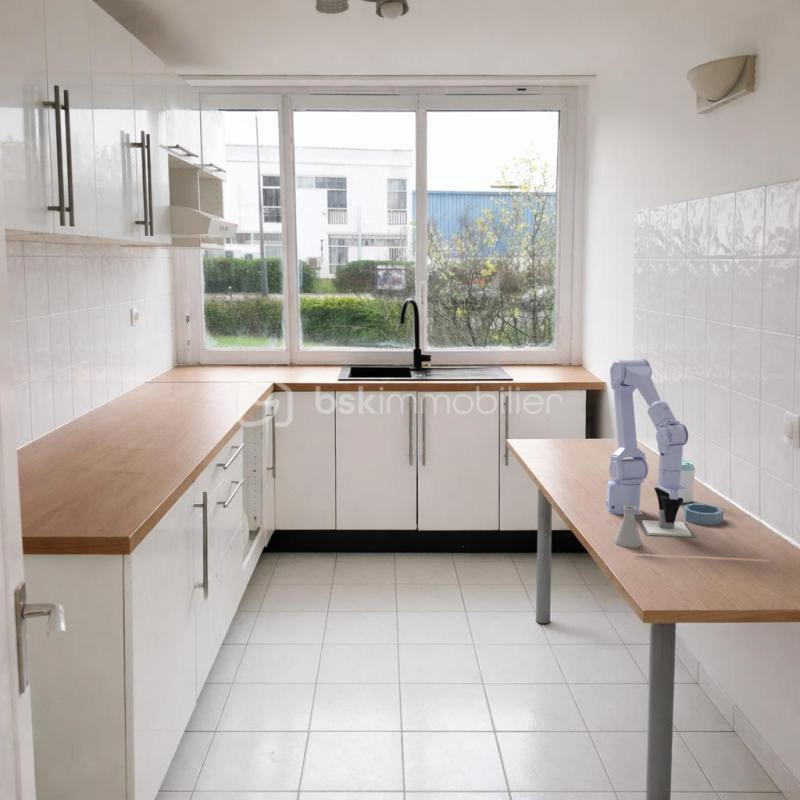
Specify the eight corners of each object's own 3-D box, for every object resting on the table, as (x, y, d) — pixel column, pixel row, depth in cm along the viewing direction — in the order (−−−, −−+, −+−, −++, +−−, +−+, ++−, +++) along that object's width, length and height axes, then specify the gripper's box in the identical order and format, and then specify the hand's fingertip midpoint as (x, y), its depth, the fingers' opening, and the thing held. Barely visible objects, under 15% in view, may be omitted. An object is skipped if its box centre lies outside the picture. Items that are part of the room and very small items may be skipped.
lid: (648, 534, 236) (649, 516, 235) (641, 522, 246) (642, 504, 245) (691, 536, 234) (692, 517, 234) (682, 524, 245) (683, 506, 244)
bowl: (687, 525, 246) (688, 513, 245) (680, 514, 255) (681, 503, 255) (725, 527, 245) (726, 514, 244) (716, 516, 255) (717, 504, 254)
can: (683, 497, 274) (686, 459, 272) (697, 503, 268) (700, 464, 265) (663, 498, 272) (666, 460, 270) (677, 505, 265) (680, 465, 263)
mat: (645, 537, 235) (645, 535, 235) (637, 522, 248) (637, 521, 247) (696, 539, 233) (696, 538, 233) (685, 524, 246) (685, 523, 246)
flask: (640, 551, 224) (643, 512, 223) (611, 547, 227) (613, 509, 225) (643, 542, 231) (645, 505, 229) (615, 539, 234) (617, 502, 232)
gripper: (691, 476, 230) (688, 527, 232) (679, 463, 244) (676, 511, 247) (663, 475, 231) (660, 525, 233) (653, 462, 245) (650, 510, 247)
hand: (666, 518), depth 240 cm, fingers open, 7 cm apart
